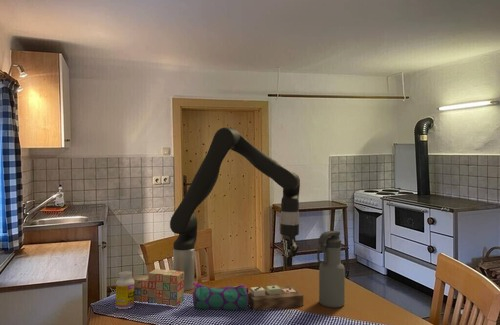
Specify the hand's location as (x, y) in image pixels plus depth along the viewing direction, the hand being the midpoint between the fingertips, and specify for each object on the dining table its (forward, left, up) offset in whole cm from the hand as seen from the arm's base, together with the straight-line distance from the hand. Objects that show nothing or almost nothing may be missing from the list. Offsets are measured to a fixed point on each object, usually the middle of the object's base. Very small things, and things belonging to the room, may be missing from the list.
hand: (288, 266), depth 150 cm
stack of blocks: (-51, +13, -14) cm, 54 cm away
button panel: (-6, 0, -14) cm, 15 cm away
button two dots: (0, 0, -12) cm, 12 cm away
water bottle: (+15, -7, -14) cm, 22 cm away
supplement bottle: (-62, +11, -14) cm, 65 cm away
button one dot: (-6, 0, -10) cm, 12 cm away
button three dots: (-13, 0, -10) cm, 17 cm away
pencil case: (-28, 0, -14) cm, 31 cm away
